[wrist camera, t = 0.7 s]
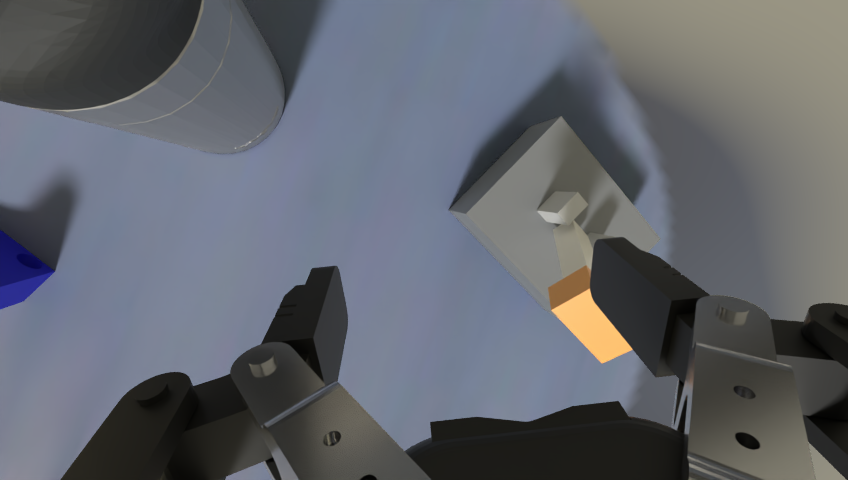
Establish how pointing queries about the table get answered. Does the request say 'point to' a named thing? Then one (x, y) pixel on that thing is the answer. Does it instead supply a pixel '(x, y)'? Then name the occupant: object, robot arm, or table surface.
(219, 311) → the table surface
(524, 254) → the block
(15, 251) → the cable clip
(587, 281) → the lever
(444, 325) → the table surface
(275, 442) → the robot arm
